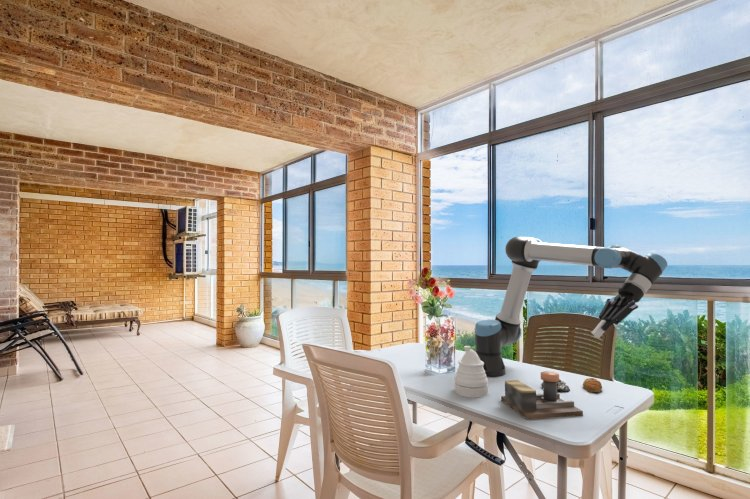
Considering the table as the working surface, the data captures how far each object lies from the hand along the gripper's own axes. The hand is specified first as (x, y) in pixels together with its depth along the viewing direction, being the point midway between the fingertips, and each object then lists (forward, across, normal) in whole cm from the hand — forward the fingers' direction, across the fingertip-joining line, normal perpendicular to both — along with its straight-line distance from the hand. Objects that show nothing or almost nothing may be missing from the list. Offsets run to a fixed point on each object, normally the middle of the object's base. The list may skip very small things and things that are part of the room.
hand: (595, 335), depth 143 cm
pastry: (+10, +15, -25) cm, 31 cm away
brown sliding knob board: (+33, +1, -2) cm, 33 cm away
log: (+20, +19, -15) cm, 32 cm away
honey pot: (+45, +21, +10) cm, 50 cm away
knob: (+29, +1, -4) cm, 29 cm away
